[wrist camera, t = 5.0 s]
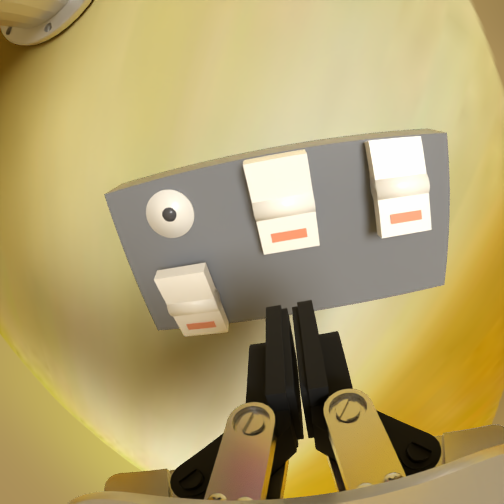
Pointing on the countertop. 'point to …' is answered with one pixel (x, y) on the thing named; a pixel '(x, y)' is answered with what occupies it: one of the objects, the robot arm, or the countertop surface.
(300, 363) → the robot arm
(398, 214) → the rocker near
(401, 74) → the countertop surface
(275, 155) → the rocker mid
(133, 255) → the switch panel
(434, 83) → the countertop surface
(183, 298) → the rocker far
